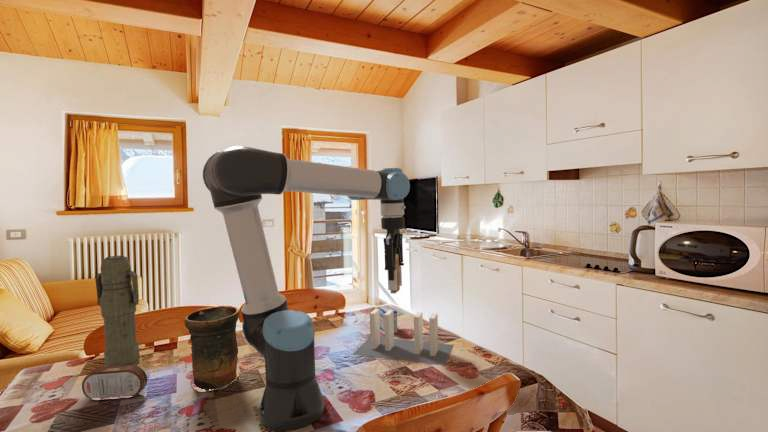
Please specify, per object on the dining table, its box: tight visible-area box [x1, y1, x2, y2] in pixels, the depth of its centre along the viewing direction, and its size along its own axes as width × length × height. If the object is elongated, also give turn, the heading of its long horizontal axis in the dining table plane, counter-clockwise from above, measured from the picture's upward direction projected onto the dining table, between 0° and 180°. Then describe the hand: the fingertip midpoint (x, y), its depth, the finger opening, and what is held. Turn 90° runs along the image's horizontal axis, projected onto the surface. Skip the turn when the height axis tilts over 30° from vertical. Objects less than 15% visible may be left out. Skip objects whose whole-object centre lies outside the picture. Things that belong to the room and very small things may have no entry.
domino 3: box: [413, 311, 424, 354], centre depth 128 cm, size 2×5×12 cm, turn 161°
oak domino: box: [390, 254, 401, 295], centre depth 129 cm, size 2×5×12 cm, turn 162°
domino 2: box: [383, 310, 395, 351], centre depth 131 cm, size 2×5×12 cm, turn 161°
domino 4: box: [428, 313, 439, 356], centre depth 126 cm, size 2×5×12 cm, turn 161°
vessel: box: [183, 305, 240, 391], centre depth 113 cm, size 14×14×20 cm
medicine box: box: [377, 305, 398, 334], centre depth 149 cm, size 8×4×9 cm, turn 25°
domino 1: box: [369, 308, 381, 349], centre depth 133 cm, size 2×5×12 cm, turn 161°
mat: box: [352, 336, 455, 366], centre depth 130 cm, size 16×30×1 cm, turn 71°
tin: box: [81, 365, 148, 400], centre depth 104 cm, size 15×3×8 cm, turn 98°
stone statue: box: [95, 255, 141, 367], centre depth 121 cm, size 9×12×35 cm
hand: (395, 287), depth 129 cm, fingers closed on oak domino, 5 cm apart
